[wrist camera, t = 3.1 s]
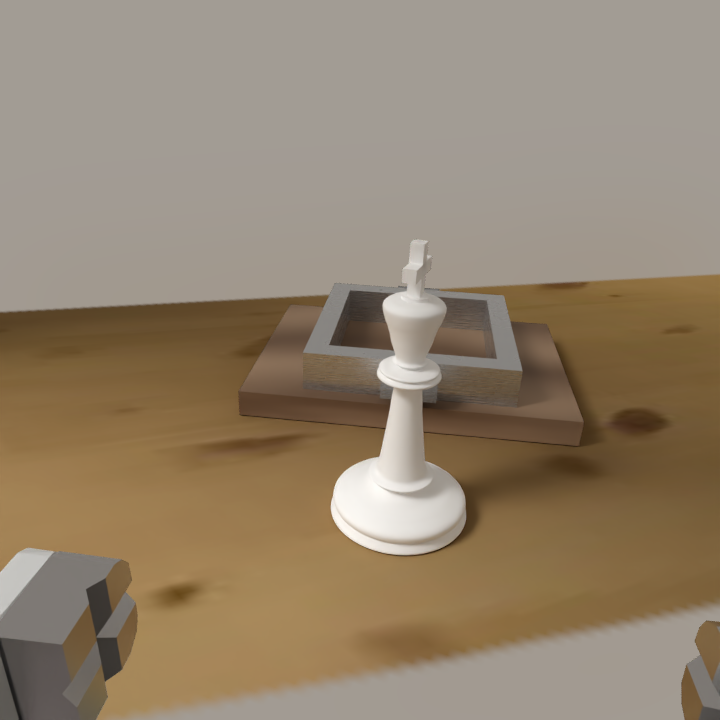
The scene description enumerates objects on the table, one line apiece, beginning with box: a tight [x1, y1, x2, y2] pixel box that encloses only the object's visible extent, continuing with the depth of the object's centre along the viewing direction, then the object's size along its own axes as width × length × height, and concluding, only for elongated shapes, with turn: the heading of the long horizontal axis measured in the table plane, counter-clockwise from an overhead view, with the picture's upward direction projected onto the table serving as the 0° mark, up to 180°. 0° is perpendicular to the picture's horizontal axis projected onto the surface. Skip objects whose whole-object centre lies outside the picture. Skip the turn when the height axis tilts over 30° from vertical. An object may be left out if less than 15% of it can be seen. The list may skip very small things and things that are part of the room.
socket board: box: [239, 304, 584, 446], centre depth 33 cm, size 11×15×1 cm
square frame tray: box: [303, 283, 523, 408], centre depth 33 cm, size 12×10×2 cm
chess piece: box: [331, 239, 466, 555], centre depth 22 cm, size 5×5×10 cm
